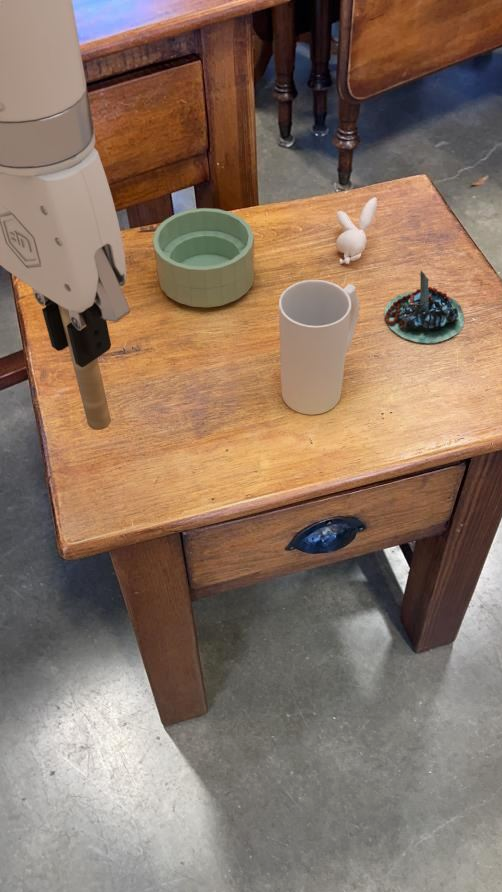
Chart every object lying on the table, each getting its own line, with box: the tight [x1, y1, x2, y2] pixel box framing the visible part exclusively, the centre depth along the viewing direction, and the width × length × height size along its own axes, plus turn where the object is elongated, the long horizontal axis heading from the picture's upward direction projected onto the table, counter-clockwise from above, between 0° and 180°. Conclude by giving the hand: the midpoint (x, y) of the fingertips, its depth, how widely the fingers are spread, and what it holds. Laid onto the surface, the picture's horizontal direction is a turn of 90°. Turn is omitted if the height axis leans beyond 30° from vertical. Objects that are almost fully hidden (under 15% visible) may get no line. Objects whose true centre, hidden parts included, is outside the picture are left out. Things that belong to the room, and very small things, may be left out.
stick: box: [58, 305, 112, 431], centre depth 66 cm, size 2×2×14 cm
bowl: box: [152, 207, 256, 308], centre depth 95 cm, size 11×11×6 cm
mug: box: [278, 279, 360, 416], centre depth 83 cm, size 10×7×12 cm, turn 136°
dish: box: [383, 270, 465, 344], centre depth 94 cm, size 8×7×8 cm
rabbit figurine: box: [335, 196, 378, 266], centre depth 100 cm, size 6×4×8 cm
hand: (82, 347), depth 65 cm, fingers closed on stick, 2 cm apart
